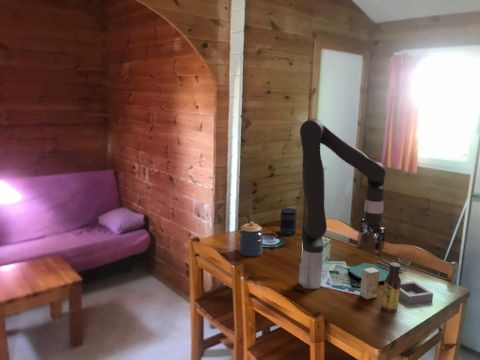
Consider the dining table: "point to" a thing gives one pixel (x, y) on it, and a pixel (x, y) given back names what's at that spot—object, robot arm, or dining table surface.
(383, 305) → the sauce bottle
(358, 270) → the teal flat sheet
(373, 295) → the skincare box
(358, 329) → the dining table surface
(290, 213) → the storage jar
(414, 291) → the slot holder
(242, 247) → the canister
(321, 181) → the robot arm
